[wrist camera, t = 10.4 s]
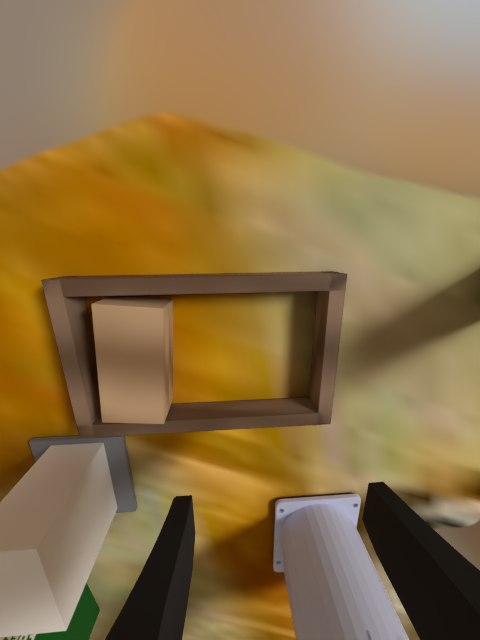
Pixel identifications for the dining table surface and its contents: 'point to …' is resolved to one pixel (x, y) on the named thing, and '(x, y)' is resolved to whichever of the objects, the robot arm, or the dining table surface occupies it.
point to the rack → (201, 416)
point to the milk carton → (71, 622)
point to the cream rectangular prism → (52, 537)
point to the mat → (115, 458)
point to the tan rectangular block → (134, 358)
